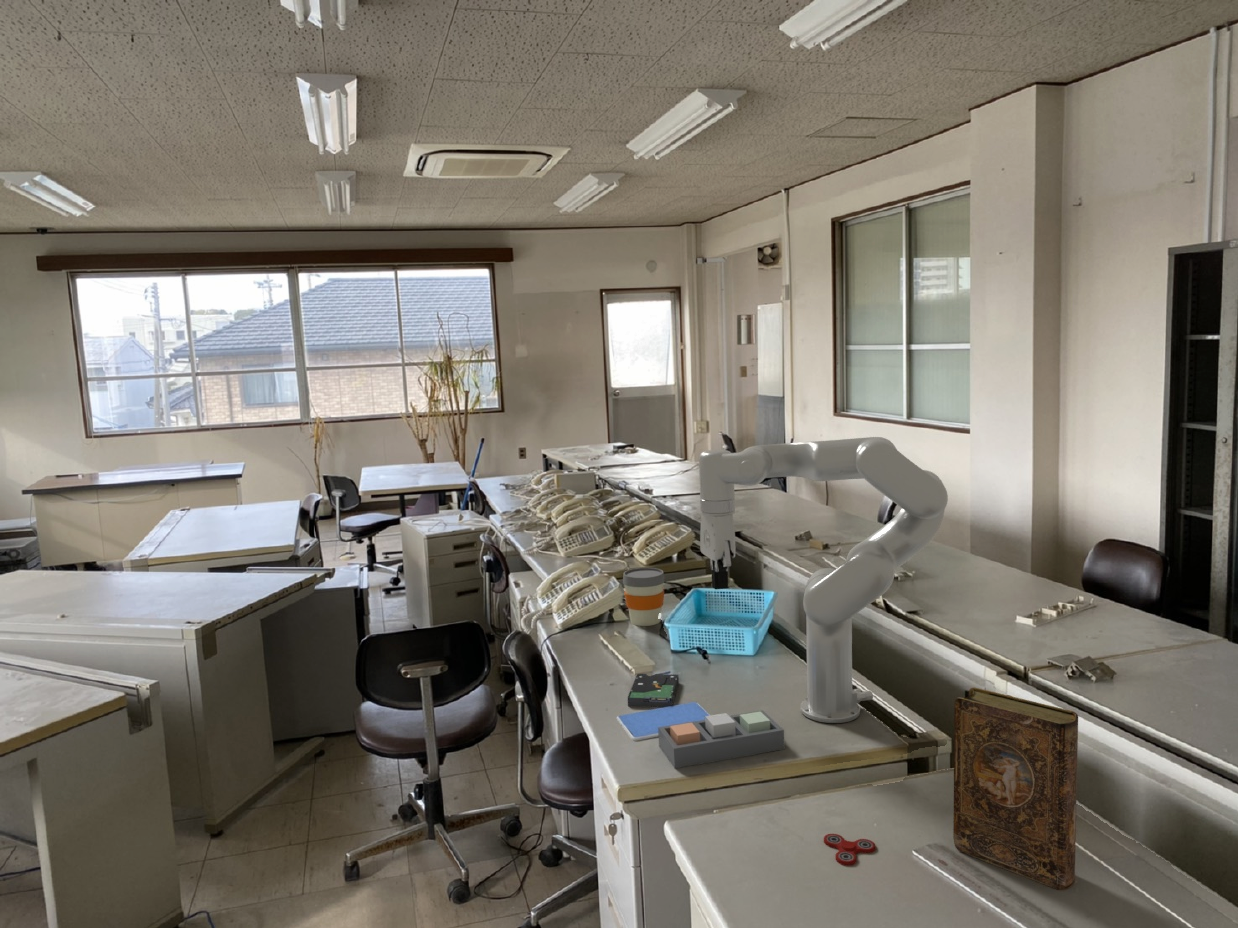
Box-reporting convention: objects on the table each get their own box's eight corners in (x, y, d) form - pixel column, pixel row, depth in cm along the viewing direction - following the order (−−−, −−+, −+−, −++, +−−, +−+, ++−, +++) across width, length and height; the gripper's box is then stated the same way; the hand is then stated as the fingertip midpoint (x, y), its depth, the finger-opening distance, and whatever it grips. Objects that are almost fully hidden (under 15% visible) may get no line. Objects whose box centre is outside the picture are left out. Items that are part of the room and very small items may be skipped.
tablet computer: (633, 744, 174) (632, 738, 174) (615, 720, 186) (615, 714, 186) (719, 728, 179) (718, 722, 179) (696, 705, 191) (696, 700, 191)
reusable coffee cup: (663, 613, 259) (661, 566, 257) (668, 626, 247) (666, 576, 245) (623, 616, 259) (621, 568, 257) (626, 629, 246) (623, 579, 244)
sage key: (760, 722, 174) (760, 711, 173) (770, 732, 169) (769, 720, 169) (740, 726, 172) (739, 714, 172) (749, 735, 168) (748, 723, 168)
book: (1079, 875, 124) (1083, 713, 121) (1066, 893, 120) (1070, 726, 117) (968, 834, 135) (968, 685, 132) (953, 849, 131) (953, 696, 128)
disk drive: (636, 684, 206) (627, 708, 191) (636, 673, 205) (627, 696, 191) (679, 685, 204) (672, 709, 190) (678, 673, 204) (672, 697, 189)
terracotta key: (692, 734, 170) (691, 722, 169) (700, 744, 165) (699, 731, 165) (670, 737, 169) (670, 726, 168) (677, 747, 164) (677, 735, 164)
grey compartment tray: (763, 728, 177) (762, 710, 176) (784, 749, 167) (783, 729, 167) (658, 745, 171) (658, 727, 171) (674, 768, 162) (673, 748, 161)
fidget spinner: (820, 840, 136) (820, 832, 136) (864, 835, 137) (863, 827, 137) (840, 869, 129) (840, 861, 128) (885, 863, 130) (885, 855, 129)
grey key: (726, 724, 172) (726, 712, 171) (735, 733, 167) (735, 721, 167) (705, 728, 170) (705, 716, 170) (713, 737, 166) (713, 725, 166)
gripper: (689, 502, 190) (692, 581, 193) (714, 513, 176) (716, 598, 178) (720, 499, 192) (723, 578, 195) (747, 510, 178) (749, 594, 180)
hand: (720, 587), depth 187 cm, fingers closed
